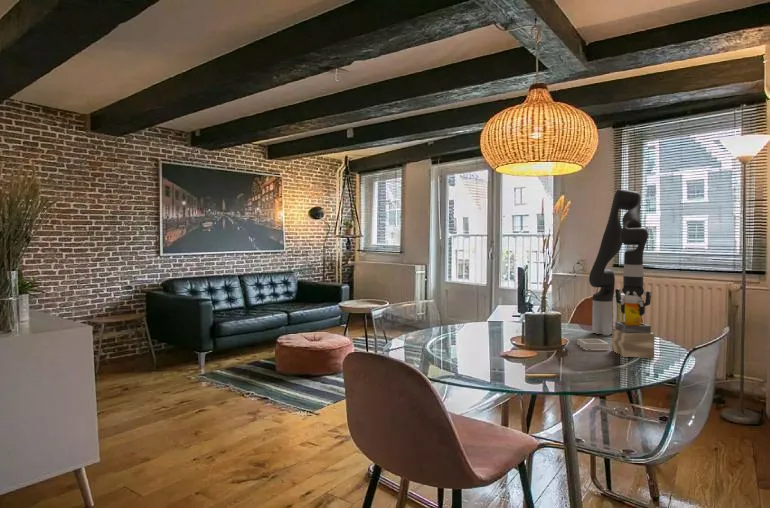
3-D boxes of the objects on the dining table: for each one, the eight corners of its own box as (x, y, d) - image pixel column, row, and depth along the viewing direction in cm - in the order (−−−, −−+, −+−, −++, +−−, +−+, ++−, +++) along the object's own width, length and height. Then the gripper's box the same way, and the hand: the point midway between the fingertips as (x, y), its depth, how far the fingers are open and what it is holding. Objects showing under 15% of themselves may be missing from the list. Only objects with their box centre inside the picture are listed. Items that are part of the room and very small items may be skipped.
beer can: (636, 331, 201) (637, 296, 200) (621, 329, 206) (622, 294, 205) (643, 329, 205) (643, 294, 204) (628, 327, 209) (628, 293, 209)
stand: (611, 350, 212) (612, 321, 211) (639, 350, 211) (639, 321, 211) (624, 357, 200) (625, 326, 199) (654, 357, 199) (654, 326, 199)
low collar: (577, 345, 223) (577, 338, 223) (599, 345, 223) (599, 338, 223) (585, 350, 213) (585, 343, 213) (608, 350, 213) (608, 343, 213)
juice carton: (629, 328, 261) (629, 293, 260) (627, 331, 253) (628, 295, 253) (614, 327, 265) (614, 292, 264) (612, 330, 257) (612, 294, 257)
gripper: (612, 274, 207) (611, 313, 207) (648, 276, 196) (648, 317, 197) (619, 273, 212) (618, 311, 213) (654, 275, 202) (654, 315, 202)
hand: (632, 314), depth 205 cm, fingers open, 6 cm apart
